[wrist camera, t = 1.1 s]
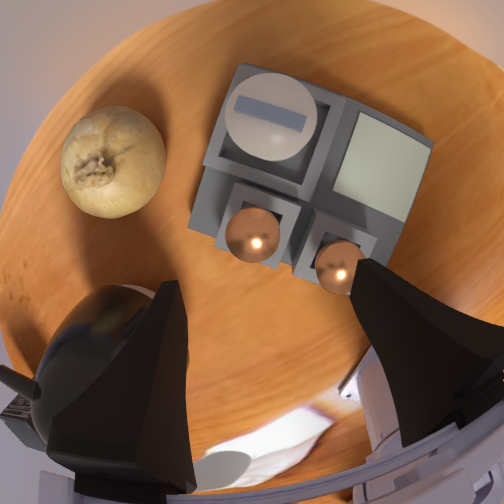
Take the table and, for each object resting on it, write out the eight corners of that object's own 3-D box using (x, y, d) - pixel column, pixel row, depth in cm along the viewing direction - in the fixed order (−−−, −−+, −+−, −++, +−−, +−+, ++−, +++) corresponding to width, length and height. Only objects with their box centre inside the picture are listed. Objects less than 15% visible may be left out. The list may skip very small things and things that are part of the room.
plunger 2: (362, 241, 17) (376, 255, 14) (344, 281, 18) (353, 300, 15) (322, 224, 17) (329, 235, 14) (304, 266, 18) (307, 284, 15)
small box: (58, 407, 32) (26, 448, 22) (34, 375, 31) (-4, 414, 21) (95, 407, 30) (59, 459, 20) (67, 370, 28) (22, 420, 19)
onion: (103, 220, 22) (47, 243, 15) (85, 132, 20) (26, 129, 13) (187, 197, 20) (143, 214, 14) (166, 97, 18) (117, 73, 12)
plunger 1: (287, 211, 17) (288, 220, 14) (271, 253, 18) (269, 270, 15) (242, 195, 17) (234, 201, 14) (228, 238, 18) (218, 251, 15)
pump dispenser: (131, 241, 22) (-16, 335, 8) (225, 326, 23) (165, 490, 9) (86, 313, 25) (-13, 405, 10) (163, 380, 26) (100, 500, 12)
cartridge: (314, 113, 16) (330, 87, 10) (294, 170, 18) (300, 172, 11) (255, 93, 16) (240, 59, 10) (234, 150, 18) (209, 141, 11)
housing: (425, 143, 17) (450, 140, 14) (366, 286, 21) (380, 309, 17) (246, 69, 17) (238, 50, 14) (193, 223, 21) (175, 235, 17)
